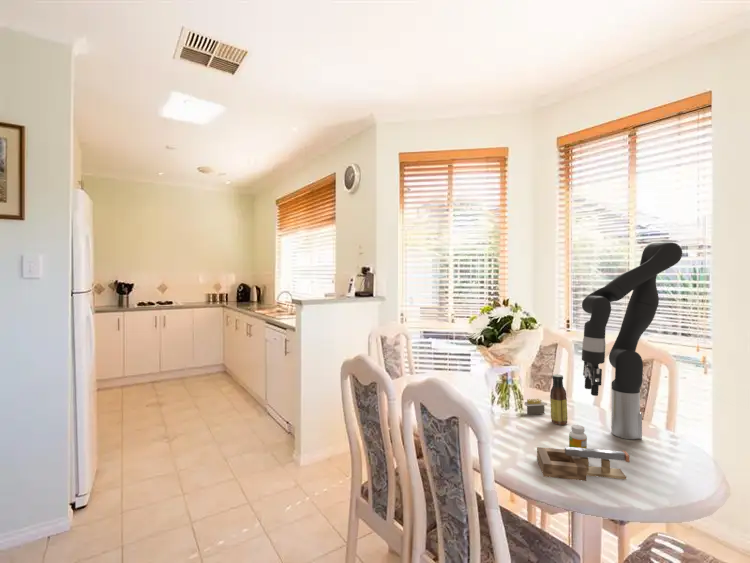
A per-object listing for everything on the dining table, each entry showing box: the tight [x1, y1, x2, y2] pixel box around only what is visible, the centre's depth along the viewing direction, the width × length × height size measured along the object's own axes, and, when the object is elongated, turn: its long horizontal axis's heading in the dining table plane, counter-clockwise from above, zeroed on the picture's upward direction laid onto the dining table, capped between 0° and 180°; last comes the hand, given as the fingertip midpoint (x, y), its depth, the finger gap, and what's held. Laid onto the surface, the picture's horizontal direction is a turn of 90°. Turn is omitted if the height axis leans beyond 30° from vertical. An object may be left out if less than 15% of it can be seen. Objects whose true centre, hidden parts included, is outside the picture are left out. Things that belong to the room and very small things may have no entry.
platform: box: [524, 398, 548, 415], centre depth 177 cm, size 12×18×7 cm, turn 95°
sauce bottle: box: [549, 373, 568, 426], centre depth 165 cm, size 7×6×20 cm
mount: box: [580, 457, 627, 480], centre depth 124 cm, size 12×5×4 cm, turn 77°
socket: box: [536, 446, 587, 482], centre depth 127 cm, size 12×12×4 cm
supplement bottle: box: [568, 424, 588, 448], centre depth 136 cm, size 5×5×10 cm
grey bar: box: [564, 446, 631, 463], centre depth 124 cm, size 18×4×2 cm, turn 77°
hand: (591, 392), depth 150 cm, fingers open, 8 cm apart
